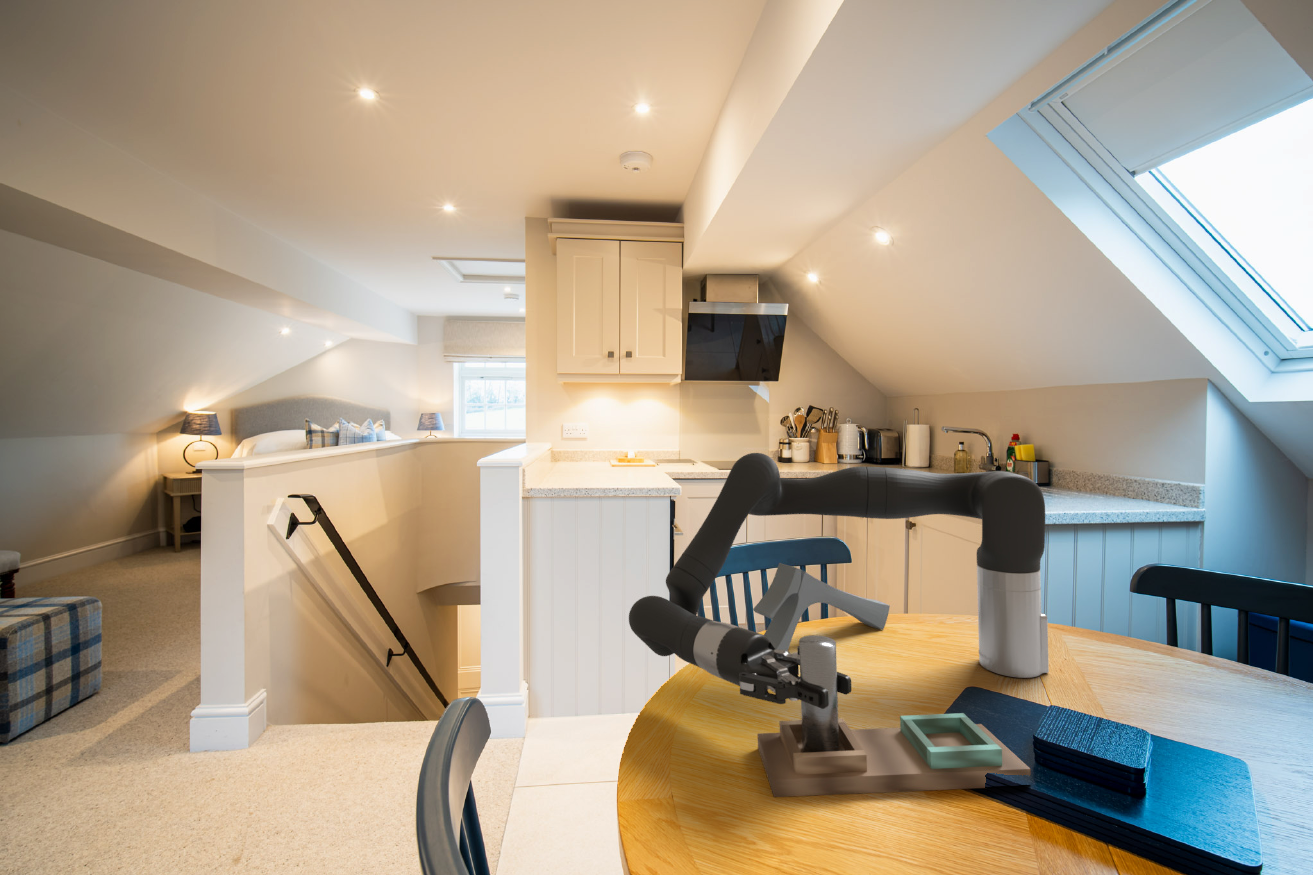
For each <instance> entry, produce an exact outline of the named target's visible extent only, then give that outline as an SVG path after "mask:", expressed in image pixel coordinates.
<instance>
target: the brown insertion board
mask: <svg viewBox="0 0 1313 875" xmlns="http://www.w3.org/2000/svg"><path fill="white" fill-rule="evenodd" d="M899 720H900V724H899V725H900V726H899V727H881V728H858V729H850V727H849V725H848V723H846V721H845V719H844V718H842V717H841V718H840V717H838V727H839V751H831V752H808V753H803V743H802V719H796V720H795V719H794V720H792V719H791V720H779V732H767V733H765V732H764V733H763V732H761V733H760V732H759V733H757V749H758V753H759V755H760V758H761V762H762V765H763V768H764V771H765V773H766V777H767V779H768V782H769V786H770V788H771V792H772V796H773V798H781V797H782V798H783V797H802V796H804V797H805V796H807V797H808V796H825V795H827V796H828V795H829V796H830V795H847V794H848V795H849V794H851V795H853V794H871V793H872V794H873V793H895V792H898V793H899V792H920V791H921V792H922V791H941V790H943V791H944V790H963V789H964V790H965V789H986V788H985V783H986V777H985V775H986V774H987V773H995V774H996V773H997V774H1004V775H1022V776H1023V775H1029V776H1030V775H1031V771H1032V770H1031V768H1030V766H1028V765H1027V764H1026V763H1025V762H1023V760H1021V759H1020V758H1019V757H1018V756H1017V755H1016V754H1015V753H1014V752H1013V751H1011V750H1010V749H1009V747H1007V746H1006V745H1005V744H1004V743H1003V742H1002V741H1001V740H999V739H998V738H997V737H996V736H995V735H994V734H993V733H992V732H991V731H990V730H988V728H987V727H985V726H984V725H983V724H982V723H975V722H973V720H971V718H969V717H968V716H967V715H966V714H965V713H964V712H961V713H960V712H959V713H958V712H957V713H955V712H954V713H935V714H934V713H933V714H915V715H913V714H911V715H910V714H909V715H908V714H907V715H900V716H899ZM1031 776H1032V775H1031Z"/></svg>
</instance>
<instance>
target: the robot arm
mask: <svg viewBox="0 0 1313 875" xmlns="http://www.w3.org/2000/svg"><path fill="white" fill-rule="evenodd" d="M780 474H781V473H780V471H779V467H778V465H777V463H776V461H775V460H774V459H773V458H772V457H770V456H769V455H768V454H766V453H765V454H764V453H762V452H761V453H760V452H750V453H747V454H745V455H743V456H741V457H739V459H738V460H736V461H735V463H734V464H733V465H732V467H731V469H730V471H729V473H728V475H727V477H726V479H725V483H724V484H723V486H722V489H721V490H720V492H719V495H718V496H717V498H716V500H715V502H714V504H713V505H712V507H711V509H710V511H709V512H708V515H707V516H706V518H705V519H704V521H703V523H702V524H701V526H700V527H699V529H698V531H697V532H696V534H695V535H694V536H693V538H692V540H691V541H690V543H689V544H688V546H686V548H685V549H684V551H683V552H682V554H681V556H680V557H679V558H678V560H677V561H676V562H675V564H674V565H673V567H672V568H671V569H670V571H669V573H668V574H667V576H666V578H665V585H666V588H667V590H668V592H669V596H670V600H669V599H667V598H664V597H662V596H658V595H647V596H643V597H641V598H640V599H638V600H637V601H636V602H634V603H633V605H632V606H631V608H630V610H629V613H628V623H629V627H630V629H631V631H632V632H633V633H634V634H635V635H636V636H637V638H639V639H640V641H642V642H643V643H644V644H645V645H646V646H647V647H648V648H649V649H650V650H651V651H652V652H653V653H655V654H656V655H658V656H660V657H668V656H672V655H673V654H675V655H676V656H677V657H678V658H679V659H681V660H683V661H684V662H686V663H689V664H690V665H693V666H695V667H698V668H700V669H703V670H704V671H706V672H707V673H709V674H711V675H712V676H715V677H717V678H719V679H721V680H724V681H727V682H729V683H731V684H733V685H735V686H737V687H739V694H740V695H741V696H745V697H750V698H753V699H757V700H762V701H765V702H770V703H773V704H778V705H784V704H786V702H787V701H786V700H790V701H791V702H792V701H793V702H797V701H800V702H801V701H804V702H806V703H809V704H811V705H814V706H817V707H819V708H821V709H824V708H826V707H828V705H829V700H828V691H827V690H826V689H825V688H822V687H819V686H817V685H814V684H811V683H808V682H806V681H803V680H801V681H800V654H799V645H798V646H797V651H795V652H792V653H791V652H789V650H788V651H784V650H776V649H775V648H774V647H773V645H772V644H771V642H770V641H769V639H768V638H767V637H766V636H764V634H762V633H759V632H755V631H752V630H749V629H746V628H743V627H741V626H737V625H734V624H731V623H729V622H728V623H727V622H723V621H715V620H713V619H710V618H706V617H703V616H700V615H698V612H699V609H700V605H701V602H702V600H703V598H704V596H705V595H706V594H707V592H708V590H709V588H710V587H711V586H712V584H713V583H714V581H715V580H716V578H717V577H718V575H719V573H720V572H721V570H722V568H723V567H724V564H725V562H726V560H727V558H728V556H729V553H730V551H731V549H732V547H733V544H734V542H735V539H736V538H737V535H738V533H739V532H740V529H741V527H742V525H743V523H744V522H745V520H746V519H747V517H748V515H752V516H760V517H761V516H763V517H766V516H785V515H786V516H787V515H816V516H832V517H833V516H835V517H855V518H863V519H864V518H865V519H879V520H880V519H881V520H897V519H898V520H899V519H908V518H909V519H910V518H916V517H922V516H923V517H924V516H929V515H930V516H931V515H950V516H961V517H968V518H975V519H979V520H981V523H982V524H981V543H980V546H979V547H977V549H976V581H977V582H976V585H977V587H976V588H977V589H976V590H977V621H978V623H977V624H978V626H977V627H978V654H979V656H978V657H979V658H978V659H979V660H978V663H979V665H981V667H983V668H984V669H985V670H987V671H990V672H993V673H996V674H998V675H1002V676H1006V677H1010V678H1020V679H1022V678H1025V679H1026V678H1027V679H1030V678H1035V677H1036V678H1037V677H1039V676H1041V675H1042V674H1045V673H1046V674H1048V673H1049V672H1050V670H1049V666H1050V665H1049V634H1048V633H1049V630H1048V629H1049V628H1048V626H1049V624H1048V623H1049V622H1048V621H1049V620H1048V616H1047V615H1046V614H1045V613H1042V590H1041V588H1042V587H1041V559H1042V558H1043V555H1044V551H1045V547H1046V546H1045V544H1046V503H1045V497H1044V495H1043V492H1042V489H1041V488H1040V487H1039V485H1038V484H1037V483H1036V482H1035V481H1034V480H1032V479H1030V478H1029V477H1027V476H1025V475H1021V474H1019V473H1018V474H1017V473H1014V472H1011V471H1004V470H995V471H993V470H992V471H983V472H981V471H979V472H967V473H966V472H965V473H938V472H929V471H922V470H918V469H917V470H915V469H907V468H896V467H886V466H885V467H882V466H881V467H880V466H851V467H847V468H842V469H839V470H836V471H833V472H829V473H826V474H822V475H820V476H816V477H811V478H786V477H785V478H784V477H781V475H780ZM769 690H770V691H772V692H773V693H771V692H769ZM837 693H840V694H841V695H842V694H843V695H845V696H847V695H849V694H851V693H852V678H851V677H850V675H848V674H844V673H841V672H839V671H837Z"/></svg>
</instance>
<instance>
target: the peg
mask: <svg viewBox="0 0 1313 875" xmlns="http://www.w3.org/2000/svg"><path fill="white" fill-rule="evenodd" d="M798 646H799V654H800V665H799V676H800V681H801V680H803V681H806V682H808V683H811V684H814V685H817V686H819V687H822V688H825V689H826V690H827V691H828V700H829V705H828V707H826V708H824V709H821V708H819V707H817V706H814V705H811V704H809V703H806V702H804V701H801V700H800V704H801V705H800V710H801V711H800V712H801V720H802V743H803V753H808V752H831V751H839V727H838V718H839V704H838V703H839V700H838V692H837V672H838V671H837V667H838V666H837V665H838V664H837V642H836V641H835V639H833V638H831V637H828V636H825V635H818V634H813V635H812V634H811V635H805V636H802V637H800V638H799V640H798Z"/></svg>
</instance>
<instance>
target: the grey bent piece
mask: <svg viewBox="0 0 1313 875" xmlns="http://www.w3.org/2000/svg"><path fill="white" fill-rule="evenodd" d="M817 603H818V604H819V603H820V604H821V603H822V604H827V605H829V606H832V607H834V608H836V609H838V610H840V611H842V612H844V613H846V614H848V615H850V616H851V617H853V618H855V619H856V620H857V621H859V622H860V623H862V624H863V625H865V626H868V627H871V628H872V629H873V628H874V629H877V630H883V631H884V630H885V626H886V624H887V621H888V617H889V612H890V605H889V604H887V603H885V602H882V601H880V600H877V599H873V598H866V597H864V596H863V597H862V596H859V595H855V594H853V593H849V592H847V591H844V590H841V589H839V588H836V587H834V586H832V585H830V584H828V583H826V582H823V581H821V580H820V579H817V578H816V577H814V576H813V575H811V574H809V573H808V572H806V571H805V570H802V569H800V568H799V567H794V566H792V565H787V564H785V563H781V562H779V563H778V566H777V569H776V572H775V574H774V577H773V580H772V581H771V583H770V585H769V587H768V589H767V591H766V592H765V594H764V595H763V596H762V598H760V600H759V602H758V603H757V604H756V605H755V606H754V607H753V608H752V610H753V612H754V613H756V614H758V615H761V616H763V617H766V618H768V619H770V620H771V621H770V623H769V625H768V627H767V628H766V630H765V632H764V633H763V635H764V636H766V637H767V638H768V639H769V641H770V642H771V644H772V645H773V647H774V648H775V649H776V650H784V651H788V652H789V648H790V646H791V642H792V640H793V637H794V634H795V631H796V629H797V627H798V626H797V625H798V624H799V621H800V619H801V617H802V615H803V614H804V613H805V611H806V610H807V608H809V607H810V606H812V605H814V604H817Z"/></svg>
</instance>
